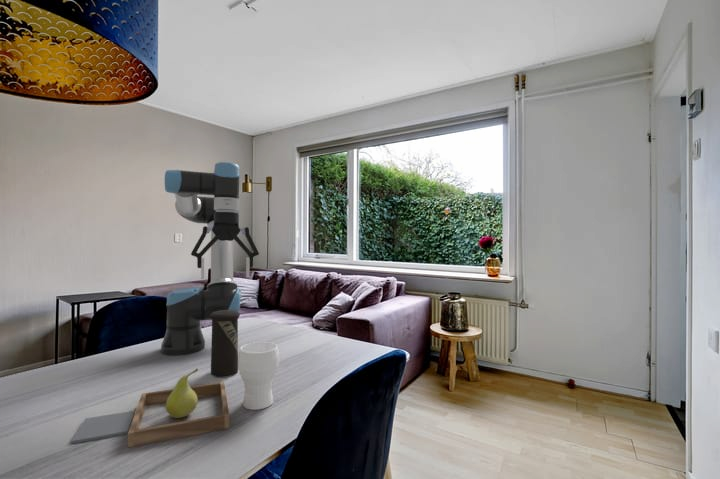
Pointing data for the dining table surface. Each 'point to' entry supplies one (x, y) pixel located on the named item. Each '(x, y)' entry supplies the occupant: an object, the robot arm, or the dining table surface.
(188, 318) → the robot arm
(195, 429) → the walnut frame
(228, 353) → the container
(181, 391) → the fruit
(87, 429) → the slate coaster
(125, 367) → the dining table surface
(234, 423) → the dining table surface
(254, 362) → the cup
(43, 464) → the dining table surface
